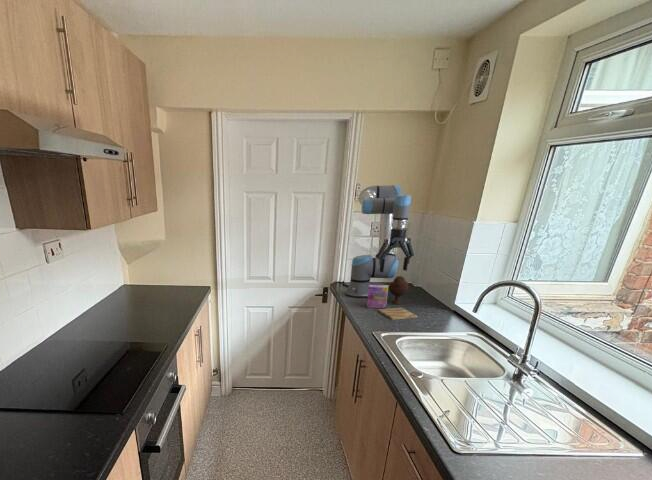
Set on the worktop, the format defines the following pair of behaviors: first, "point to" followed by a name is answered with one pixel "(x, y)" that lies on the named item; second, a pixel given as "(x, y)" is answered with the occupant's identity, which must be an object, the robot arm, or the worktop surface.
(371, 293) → the box
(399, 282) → the ice cream bowl
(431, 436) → the worktop surface
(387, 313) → the oak board
